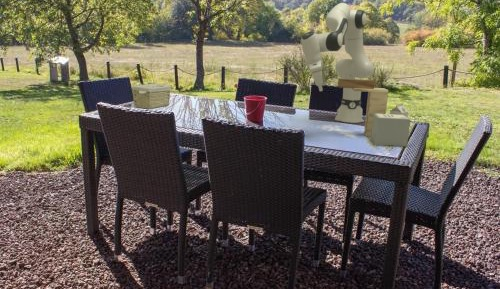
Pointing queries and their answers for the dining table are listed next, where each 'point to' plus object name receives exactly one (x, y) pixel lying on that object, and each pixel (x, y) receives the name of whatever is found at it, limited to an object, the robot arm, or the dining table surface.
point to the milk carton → (399, 110)
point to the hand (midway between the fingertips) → (320, 88)
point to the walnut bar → (356, 83)
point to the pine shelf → (374, 106)
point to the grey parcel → (390, 131)
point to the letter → (391, 116)
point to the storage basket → (151, 95)
